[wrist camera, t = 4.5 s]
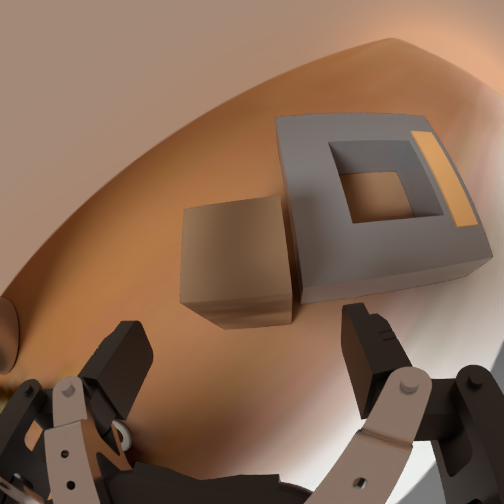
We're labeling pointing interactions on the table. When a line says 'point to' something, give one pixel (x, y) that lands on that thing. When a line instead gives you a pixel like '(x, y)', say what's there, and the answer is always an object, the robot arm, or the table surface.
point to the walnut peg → (236, 264)
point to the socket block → (379, 232)
